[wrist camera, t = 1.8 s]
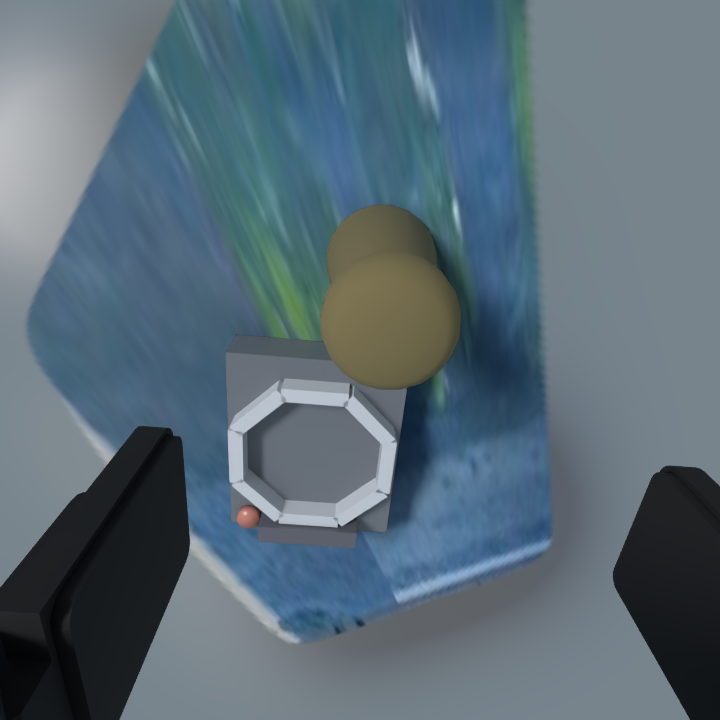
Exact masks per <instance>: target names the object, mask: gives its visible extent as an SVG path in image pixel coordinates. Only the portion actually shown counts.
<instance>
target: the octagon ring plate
mask: <svg viewBox="0 0 720 720" xmlns="http://www.w3.org/2000/svg"><path fill="white" fill-rule="evenodd" d="M226 380H227V408H228V449H229V476H230V491H231V519H232V522H238V524H239V525H240V526H242V527H244V528H248V529H251V528H255V527H256V526H257V525H258V524H259V525H258V542H272V543H287V544H302V545H317V546H331V547H346V548H355V544H356V535H357V530H361V531H375V532H386V529H387V522H388V516H389V509H390V502H391V495H392V488H393V481H394V474H395V467H396V460H397V454H398V447H399V440H400V433H401V426H402V419H403V412H404V405H405V398H406V392H407V388H405V389H401V390H379V389H375V388H372V387H368V386H364V385H361V384H359V383H358V382H356V381H354V380H353V379H351V378H350V377H348V376H346V375H345V374H343V372H342V371H341V370H340V369H339V368H338V366H337V365H336V364H335V363H334V362H333V361H332V359H331V358H330V356H329V353H328V351H327V348H326V346H325V343H324V342H320V341H308V340H295V339H283V338H271V337H259V336H246V335H236V336H235V338H234V340H233V341H232V343H231V344H230V346H229V347H228V349H227V351H226Z"/></svg>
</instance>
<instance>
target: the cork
mask: <svg viewBox="0 0 720 720" xmlns="http://www.w3.org/2000/svg"><path fill="white" fill-rule="evenodd" d="M327 272H328V276H329V280H330V284H331V285H330V287H329V288H328V289H327V293H326V296H325V300H324V303H323V306H322V310H321V313H320V321H321V336H322V338H323V341H324V343H325V346H326V348H327V351H328V353H329V356H330V358H331V359H332V361H333V362H334V363H335V364H336V365H337V366H338V368H339V369H340V370H341V371H342V372H343V374H345V375H346V376H348V377H350V378H351V379H353V380H354V381H356V382H358V383H359V384H361V385H364V386H368V387H372V388H375V389H379V390H401V389H405V388H408V387H411V386H415V385H418V384H421V383H423V382H424V381H426V380H427V379H429V378H430V377H432V376H434V375H435V374H437V373H438V372H439V371H440V370H441V368H442V367H443V366H444V365H445V364H446V363H447V362H448V360H449V359H450V358H451V356H452V354H453V352H454V349H455V347H456V345H457V342H458V340H459V335H460V324H461V310H460V306H459V302H458V298H457V295H456V292H455V290H454V289H453V287H452V286H451V284H450V283H449V282H448V280H447V279H446V277H445V276H444V274H443V273H442V271H441V270H440V269H438V268H437V252H436V248H435V245H434V241H433V237H432V235H431V234H430V232H429V231H428V229H427V228H426V226H425V225H424V223H423V222H422V221H421V220H420V219H419V218H417V217H416V216H415V215H413V214H412V213H411V212H409V211H408V210H405V209H402V208H399V207H396V206H392V205H372V206H369V207H366V208H363V209H361V210H358V211H355V212H354V213H353V214H351V215H350V216H349V217H348V218H346V219H345V220H344V221H342V222H341V224H340V225H339V227H338V228H337V229H336V231H335V232H334V234H333V235H332V237H331V240H330V244H329V247H328V251H327Z"/></svg>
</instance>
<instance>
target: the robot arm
mask: <svg viewBox="0 0 720 720" xmlns="http://www.w3.org/2000/svg"><path fill="white" fill-rule="evenodd" d="M189 546H190V536H189V524H188V511H187V498H186V485H185V472H184V460H183V447H182V440H181V437H179V436H173V432H172V430H171V429H170V428H161V427H148V426H139V427H137V428H136V429H135V430H134V432H133V433H132V434H131V435H130V437H129V438H128V439H127V441H126V442H125V443H124V444H123V446H122V447H121V448H120V449H119V451H118V452H117V453H116V454H115V456H114V457H113V458H112V459H111V461H110V462H109V463H108V464H107V466H106V467H105V468H104V470H103V471H102V472H101V473H100V475H99V476H98V477H97V478H96V480H95V481H94V482H93V483H92V485H91V486H90V487H89V488H88V490H87V491H86V492H83V493H81V494H78V495H77V496H76V497H75V498H74V499H72V500H71V501H70V503H69V504H68V505H67V506H66V508H65V509H64V510H63V511H62V512H61V514H60V515H59V516H58V517H57V519H56V520H55V521H54V523H52V525H51V526H50V527H49V528H48V530H47V531H46V532H45V533H44V535H43V536H42V537H41V538H40V539H39V541H38V542H37V543H36V544H35V546H34V547H33V548H32V549H31V550H30V552H29V553H28V554H27V555H26V557H25V558H24V559H23V560H22V562H21V563H20V564H19V565H18V567H17V568H16V569H15V570H14V571H13V573H12V574H11V575H10V576H9V578H8V579H7V580H6V581H5V582H4V584H3V585H2V586H1V587H0V720H119V719H120V717H121V714H122V712H123V710H124V707H125V705H126V703H127V700H128V698H129V695H130V693H131V691H132V688H133V686H134V683H135V681H136V679H137V676H138V674H139V672H140V669H141V667H142V664H143V662H144V660H145V657H146V655H147V652H148V650H149V648H150V645H151V643H152V641H153V639H154V636H155V634H156V631H157V629H158V627H159V624H160V622H161V620H162V617H163V615H164V612H165V610H166V608H167V605H168V603H169V601H170V598H171V596H172V593H173V591H174V589H175V586H176V584H177V582H178V579H179V577H180V574H181V572H182V569H183V567H184V565H185V563H186V560H187V557H188V553H189ZM613 580H614V585H615V588H616V590H617V592H618V594H619V595H620V597H621V599H622V601H623V602H624V604H625V606H626V608H627V609H628V611H629V613H630V615H631V616H632V618H633V620H634V622H635V623H636V625H637V627H638V629H639V631H640V632H641V634H642V636H643V638H644V639H645V641H646V643H647V645H648V646H649V648H650V650H651V652H652V653H653V655H654V657H655V659H656V660H657V662H658V664H659V666H660V667H661V669H662V671H663V673H664V674H665V676H666V678H667V680H668V682H669V683H670V685H671V687H672V688H673V690H674V692H675V694H676V695H677V697H678V699H679V700H680V702H681V704H682V706H683V708H684V709H685V711H686V713H687V715H688V717H689V718H690V720H720V486H719V485H718V484H717V483H716V482H715V481H714V480H712V478H710V477H709V476H708V475H707V474H706V473H705V472H704V471H703V470H701V469H699V468H694V467H682V466H665V467H664V468H662V469H661V471H660V472H658V473H655V474H654V475H653V477H652V478H651V481H650V483H649V485H648V488H647V490H646V493H645V495H644V498H643V500H642V502H641V505H640V507H639V510H638V512H637V514H636V517H635V519H634V522H633V524H632V527H631V529H630V531H629V534H628V536H627V539H626V541H625V544H624V546H623V548H622V551H621V553H620V556H619V558H618V560H617V563H616V565H615V568H614V571H613Z"/></svg>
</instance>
